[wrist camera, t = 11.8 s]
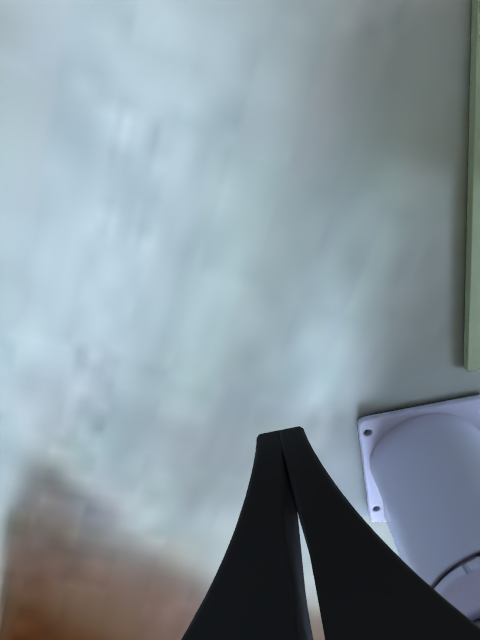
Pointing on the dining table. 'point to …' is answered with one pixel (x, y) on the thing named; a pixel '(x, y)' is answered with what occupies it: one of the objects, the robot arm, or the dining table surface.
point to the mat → (473, 206)
